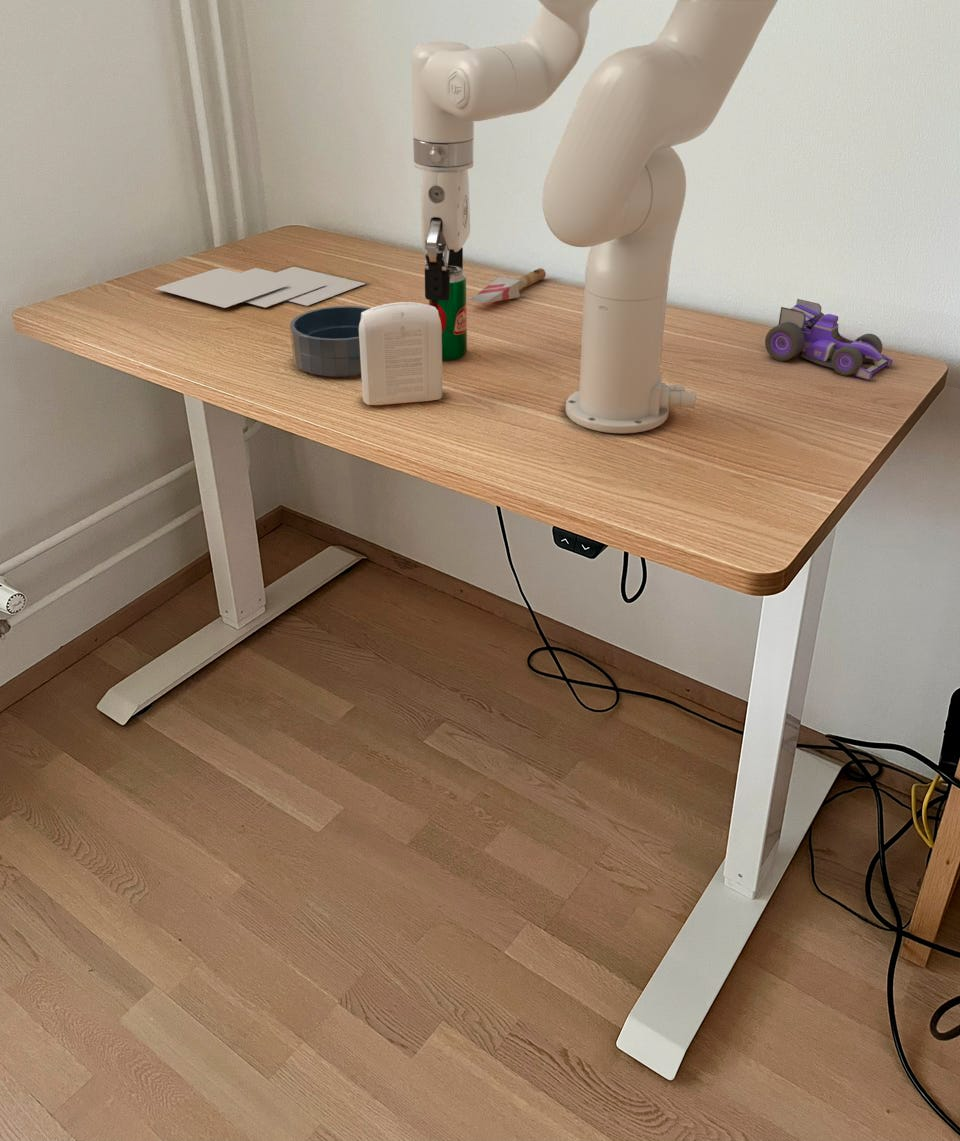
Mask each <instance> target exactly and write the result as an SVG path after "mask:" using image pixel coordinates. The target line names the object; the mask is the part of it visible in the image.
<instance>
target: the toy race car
mask: <svg viewBox="0 0 960 1141" xmlns="http://www.w3.org/2000/svg"><path fill="white" fill-rule="evenodd" d="M838 321H839V316H838V315H835V314H831V313H827V314H824V313H823V312H822V306H821V304H820V303H818V302H813V301H809V300H805V299H800V298H797V299H796V303H795V305H793V307H791V308H788V307H784V306H781V307H780V312H779V319H778V324H777V325H776V326H773V327H772V328H771V329H770V330H768V332H767V333H766V335H765V339H764V346H765V349H766V352H767V354H768V355H769V356H770V357H771V358H772V359H774V360H776V361H780V362H785V361H789V360H790V359H792V358H794V357H796V356H798V355H800V358H802V359H805V360H807V361H810V362H811V363H812V362H813V363H815V364H817V365H819V366H823V367H827V368H829V369H833V370H834V371H835V373H837V374H839V375H841V376H850V375H852V374H854V373H856V374H855V377H857V378H860V379H864V380H868V381H871V380H872V377H873V375H874V374H875V373H876V372H878V371H880V370H881V369H883V368H885V367H891V366H892V365H893V361H894V359H892V358H890V357H888V356H886V355H885V354H882V352H883V342H882V340H881V339H880V337H879V336H877V335H876V334H873V333H865V334H862V335H860V336H858V337H857V338H856V339H855V340H852V339H849V338H846V337H844V335H841V334H840V332H839V323H838ZM801 352H802V353H801ZM800 353H801V354H800ZM870 362H874V364H873V365H871V366H870V367H868V368H864V367H862V365H863V363H864V364H865V363H870Z"/></svg>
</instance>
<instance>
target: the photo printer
mask: <svg viewBox="0 0 960 1141" xmlns="http://www.w3.org/2000/svg"><path fill="white" fill-rule="evenodd" d="M370 308H371V309H368V310H366V311H364V312H362V313H361V321H360V324H359V342H360V359H361V375H360V376H361V391H362V392H361V393H362V402H364V404H366V405H368V406H383V405H384V406H385V405H395V404H407V403H418V402H429V401H437V400H438V401H439V400H440V399H442V398H443V361H442V328H441V321H440V317H439V313H438V310H437V309H436V307H433V306H430V305H429V304H426V303H421V302H413V301H398V302H397V301H396V302H390V303H385V304H380V305H377V306H374V307H370Z"/></svg>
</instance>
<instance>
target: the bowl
mask: <svg viewBox="0 0 960 1141" xmlns="http://www.w3.org/2000/svg"><path fill="white" fill-rule="evenodd" d="M371 308H372V307H367V306H366V307H365V306H357V305H339V306H336V305H335V306H328V307H327V306H326V307H320V308H316V309H311V310H308V311H306V312H303V313H301V314H299V315H296V316H295V317H293V319H292V320H291V321H290V322H289V331H290V342H291V350H292V360H293V364H294V365H295V366H296V367H297V368H298V369H300V370H302V371H303V372H307V373H309V374H312V375H317V376H321V377H330V378H348V377H357V376H361V359H360V342H359V324H360V321H361V313H362V312H364V311H366V310H368V309H371Z"/></svg>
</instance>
